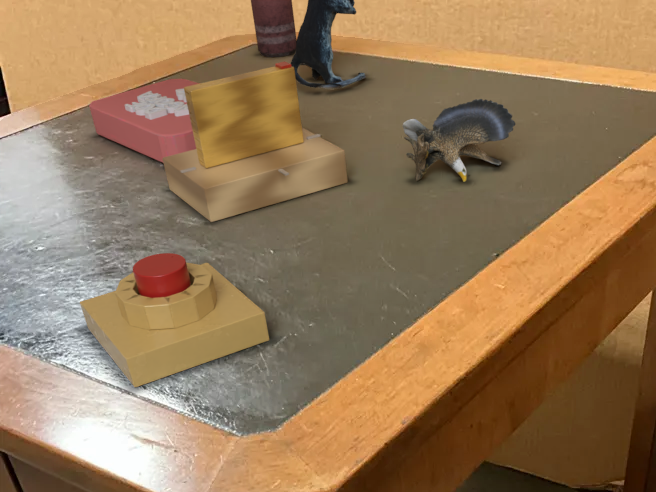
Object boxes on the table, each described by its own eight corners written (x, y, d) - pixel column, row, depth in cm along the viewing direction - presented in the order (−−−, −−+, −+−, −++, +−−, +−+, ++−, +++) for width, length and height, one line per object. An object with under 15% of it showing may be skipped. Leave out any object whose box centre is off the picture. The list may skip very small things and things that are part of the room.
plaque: (289, 93, 93) (165, 132, 86) (295, 131, 96) (175, 172, 89) (197, 64, 103) (80, 97, 96) (204, 100, 106) (90, 134, 99)
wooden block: (206, 168, 80) (189, 88, 76) (199, 164, 81) (182, 84, 77) (304, 142, 84) (294, 64, 80) (296, 138, 85) (286, 60, 81)
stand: (219, 230, 78) (212, 194, 76) (160, 183, 87) (152, 150, 85) (360, 189, 83) (357, 153, 81) (290, 148, 92) (286, 116, 90)
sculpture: (386, 86, 106) (376, -65, 96) (296, 98, 105) (277, -54, 95) (373, 68, 112) (362, -76, 102) (288, 78, 111) (269, -66, 101)
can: (259, 48, 122) (244, -56, 114) (299, 45, 122) (286, -59, 114) (255, 58, 118) (238, -49, 110) (295, 56, 118) (282, -51, 110)
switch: (134, 388, 59) (118, 334, 57) (88, 329, 66) (71, 278, 63) (269, 340, 63) (260, 287, 60) (213, 288, 69) (202, 239, 67)
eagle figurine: (445, 188, 79) (529, 146, 80) (408, 108, 77) (495, 68, 79) (419, 208, 86) (496, 169, 88) (385, 136, 84) (465, 98, 86)
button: (149, 305, 60) (143, 281, 59) (131, 286, 63) (124, 262, 61) (199, 289, 62) (193, 265, 60) (179, 271, 64) (174, 248, 63)
